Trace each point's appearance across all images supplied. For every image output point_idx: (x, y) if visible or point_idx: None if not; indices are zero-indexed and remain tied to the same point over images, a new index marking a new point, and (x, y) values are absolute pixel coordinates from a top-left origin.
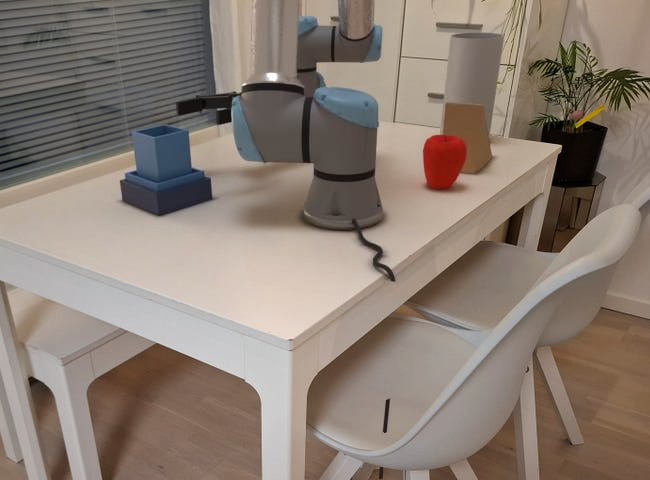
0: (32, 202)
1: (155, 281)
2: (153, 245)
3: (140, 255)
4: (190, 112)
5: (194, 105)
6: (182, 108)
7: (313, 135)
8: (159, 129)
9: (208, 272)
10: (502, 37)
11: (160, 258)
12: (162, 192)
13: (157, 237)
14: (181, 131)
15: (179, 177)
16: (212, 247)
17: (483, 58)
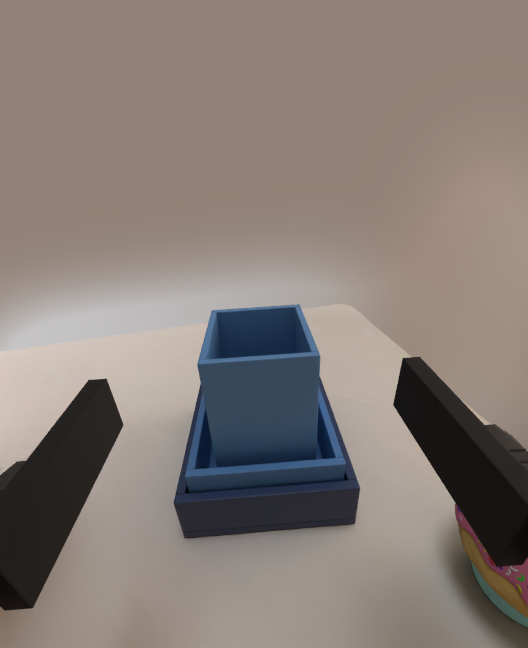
0: (383, 338)
1: (78, 346)
2: (135, 370)
3: (131, 355)
4: (432, 460)
5: (461, 466)
6: (409, 399)
7: None
8: (307, 348)
9: (26, 376)
10: None
11: (104, 363)
12: (199, 389)
13: (147, 380)
14: (202, 349)
15: (202, 413)
16: (49, 406)
17: None
